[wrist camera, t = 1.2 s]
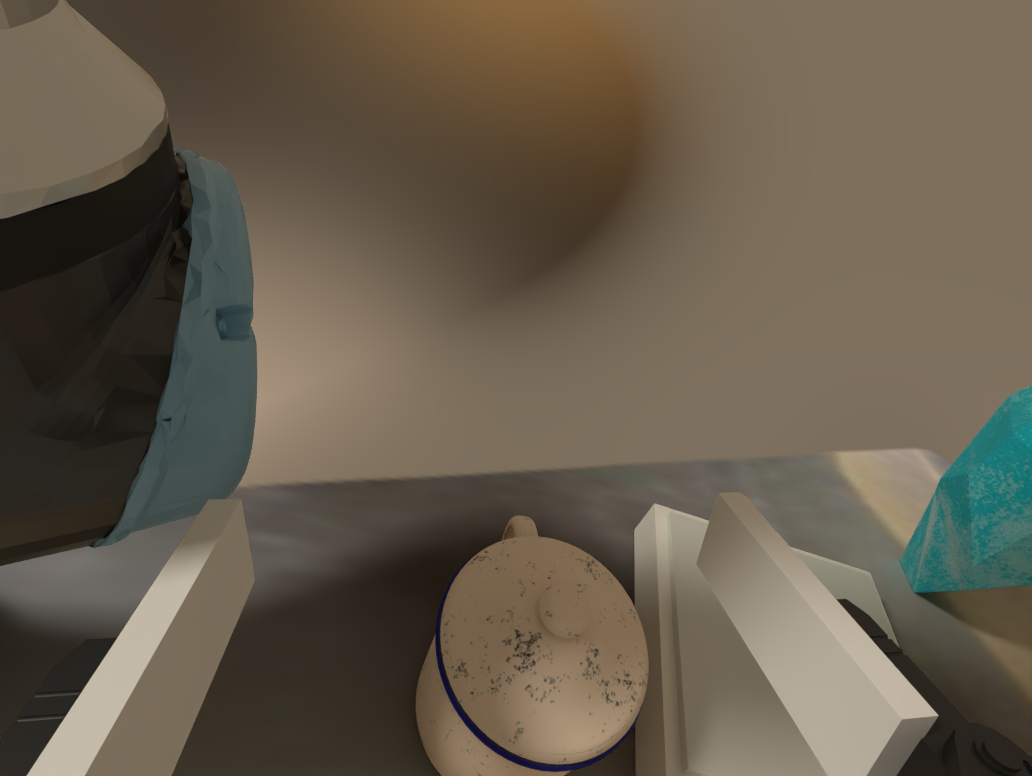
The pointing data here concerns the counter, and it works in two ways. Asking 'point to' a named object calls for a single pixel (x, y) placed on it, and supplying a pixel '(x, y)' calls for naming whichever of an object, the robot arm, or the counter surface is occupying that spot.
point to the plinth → (715, 663)
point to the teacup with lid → (530, 662)
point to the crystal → (980, 511)
